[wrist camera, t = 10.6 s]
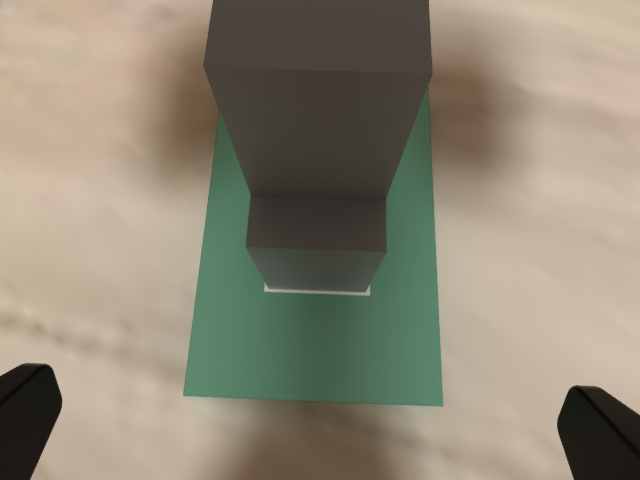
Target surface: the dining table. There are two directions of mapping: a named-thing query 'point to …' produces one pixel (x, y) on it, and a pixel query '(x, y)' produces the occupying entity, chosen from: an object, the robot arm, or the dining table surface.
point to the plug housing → (318, 126)
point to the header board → (319, 304)
